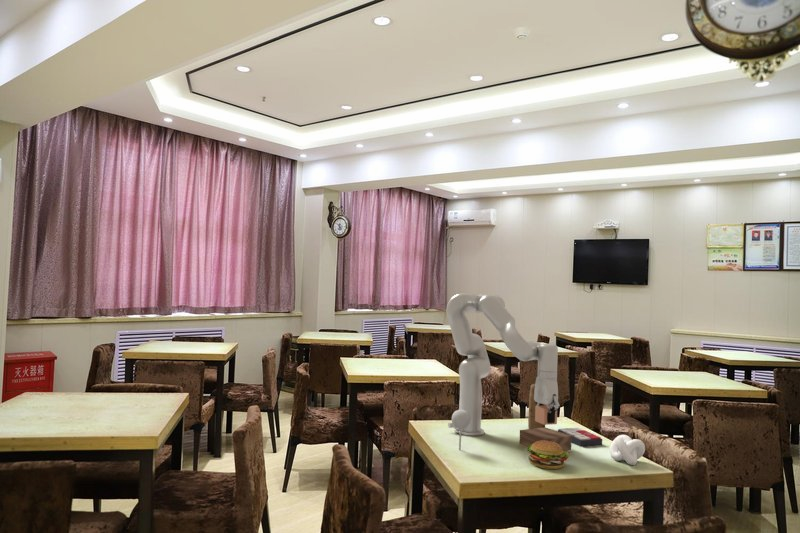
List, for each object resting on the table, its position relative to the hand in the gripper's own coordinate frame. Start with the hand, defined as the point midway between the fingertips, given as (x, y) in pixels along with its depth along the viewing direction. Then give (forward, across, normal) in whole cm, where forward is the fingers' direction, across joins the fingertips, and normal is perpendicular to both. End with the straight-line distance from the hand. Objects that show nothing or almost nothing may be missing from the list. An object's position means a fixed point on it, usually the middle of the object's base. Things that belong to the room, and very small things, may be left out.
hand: (545, 420), depth 205 cm
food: (+11, +18, -12) cm, 24 cm away
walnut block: (+11, 0, 0) cm, 11 cm away
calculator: (+11, -6, +21) cm, 25 cm away
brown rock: (+11, -26, +14) cm, 31 cm away
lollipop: (+11, -3, -36) cm, 38 cm away
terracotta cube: (+1, 0, 0) cm, 1 cm away
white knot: (+11, +21, +20) cm, 31 cm away
